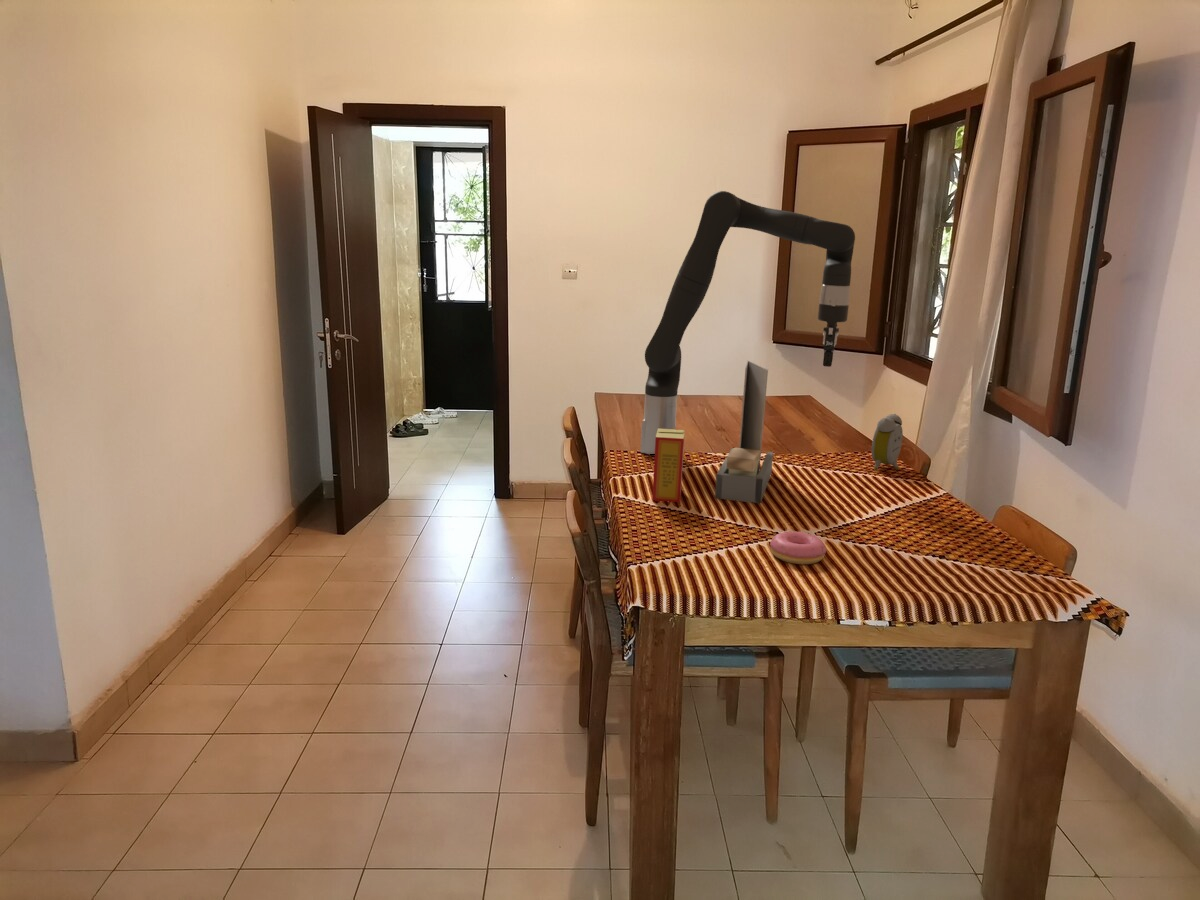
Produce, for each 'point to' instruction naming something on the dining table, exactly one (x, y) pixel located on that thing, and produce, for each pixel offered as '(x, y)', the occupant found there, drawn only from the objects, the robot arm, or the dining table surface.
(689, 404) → the dining table surface
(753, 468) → the offcut stack
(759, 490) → the rack
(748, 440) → the brochure
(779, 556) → the doughnut
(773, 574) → the dining table surface
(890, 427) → the alarm clock
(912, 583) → the dining table surface
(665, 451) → the baking soda box
